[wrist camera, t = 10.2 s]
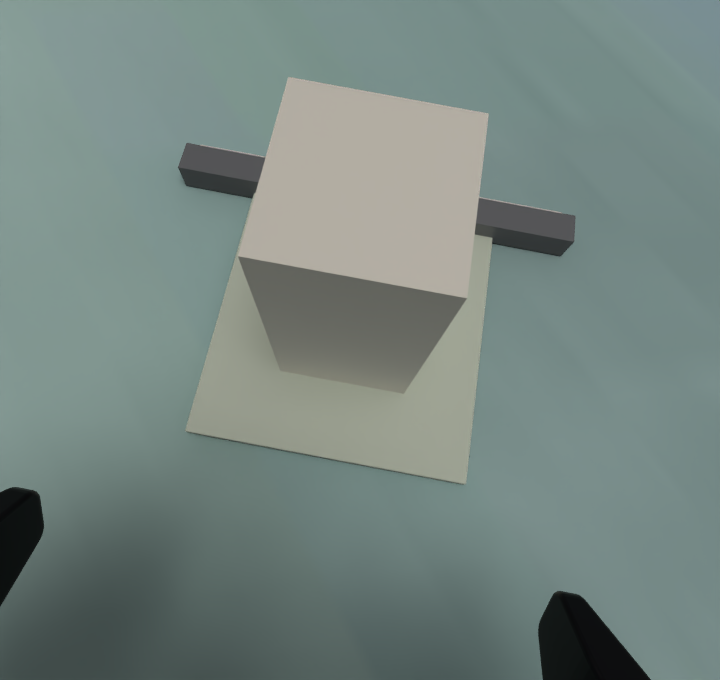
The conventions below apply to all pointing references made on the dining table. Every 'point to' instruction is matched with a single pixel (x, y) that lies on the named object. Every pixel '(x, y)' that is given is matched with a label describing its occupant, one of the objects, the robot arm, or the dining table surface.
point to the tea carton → (363, 231)
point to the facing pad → (344, 393)
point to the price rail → (493, 216)
